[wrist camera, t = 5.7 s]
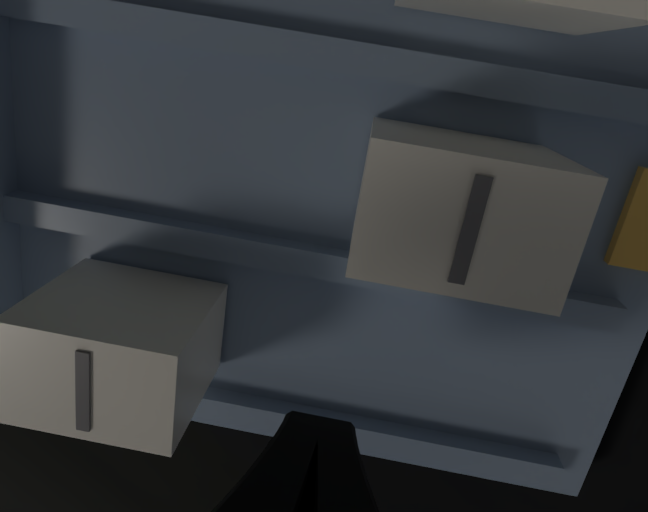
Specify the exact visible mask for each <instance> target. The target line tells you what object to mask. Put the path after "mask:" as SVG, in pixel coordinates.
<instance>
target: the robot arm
mask: <svg viewBox="0 0 648 512" xmlns="http://www.w3.org/2000/svg"><path fill="white" fill-rule="evenodd" d="M211 512H379V510H378V508H377V505H376V502H375V499H374V496H373V494H372V491H371V488H370V485H369V482H368V479H367V476H366V473H365V470H364V466H363V463H362V459H361V455H360V451H359V447H358V443H357V437H356V430H355V427H354V426H353V424H352V423H351V422H348V421H343V420H338V419H333V418H328V417H323V416H318V415H313V414H307V413H302V412H297V411H291V412H289V413H287V414H286V415H285V417H284V420H283V422H282V423H281V425H280V427H279V429H278V430H277V432H276V433H275V435H274V436H273V438H272V439H271V441H270V442H269V444H268V445H267V446H266V448H265V449H264V451H263V452H262V453H261V455H260V456H259V457H258V458H257V460H256V461H255V462H254V463H253V465H252V466H251V467H250V469H249V470H248V471H247V472H246V474H245V475H244V476H243V477H242V478H241V480H240V481H239V482H238V483H237V484H236V485H235V486H234V487H233V489H232V490H231V491H230V492H229V493H228V494H227V495H226V496H225V497H224V498H223V500H222V501H221V502H220V503H219V504H218V505H217V506H216V507H215V508H214V509H213V510H212V511H211Z"/></svg>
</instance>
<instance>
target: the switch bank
mask: <svg viewBox="0 0 648 512" xmlns="http://www.w3.org/2000/svg"><path fill="white" fill-rule="evenodd" d="M394 4H395V0H0V314H1V313H3V312H4V311H6V310H8V309H9V308H11V307H12V306H14V305H15V304H17V303H18V302H20V301H21V300H23V299H24V298H26V297H27V296H29V295H30V294H32V293H33V292H35V291H36V290H38V289H39V288H41V287H42V286H44V285H45V284H47V283H48V282H50V281H52V280H53V279H55V278H56V277H58V276H59V275H61V274H62V273H64V272H65V271H67V270H68V269H70V268H71V267H73V266H74V265H76V264H77V263H79V262H80V261H82V260H83V259H85V258H89V259H94V260H100V261H105V262H111V263H116V264H121V265H127V266H132V267H137V268H143V269H148V270H154V271H159V272H164V273H170V274H175V275H180V276H186V277H191V278H196V279H202V280H207V281H213V282H218V283H223V284H228V288H227V298H226V308H225V318H224V328H223V338H222V348H221V358H220V366H219V368H218V370H217V372H216V374H215V375H214V377H213V379H212V381H211V383H210V385H209V387H208V389H207V391H206V392H205V394H204V396H203V398H202V400H201V402H200V404H199V406H198V408H197V409H196V411H195V413H194V415H193V417H192V419H191V421H196V422H201V423H206V424H211V425H216V426H221V427H226V428H232V429H237V430H242V431H247V432H252V433H257V434H262V435H267V436H272V437H273V436H274V435H275V433H276V432H277V430H278V429H279V427H280V425H281V423H282V422H283V420H284V417H285V415H286V414H287V413H289V412H291V411H297V412H302V413H307V414H313V415H318V416H323V417H328V418H333V419H338V420H343V421H348V422H351V423H352V424H353V426H354V427H355V430H356V437H357V443H358V447H359V451H360V454H364V455H369V456H374V457H379V458H384V459H389V460H394V461H399V462H404V463H409V464H414V465H419V466H424V467H430V468H435V469H440V470H445V471H450V472H455V473H460V474H465V475H470V476H475V477H480V478H485V479H490V480H495V481H501V482H506V483H511V484H516V485H521V486H526V487H531V488H536V489H541V490H546V491H551V492H556V493H561V494H567V495H572V496H578V493H579V491H580V489H581V486H582V484H583V481H584V479H585V477H586V474H587V472H588V470H589V467H590V465H591V463H592V460H593V458H594V456H595V453H596V451H597V448H598V446H599V444H600V441H601V439H602V437H603V434H604V432H605V430H606V427H607V425H608V423H609V420H610V418H611V415H612V413H613V411H614V408H615V406H616V404H617V401H618V399H619V397H620V394H621V392H622V389H623V387H624V385H625V382H626V380H627V378H628V375H629V373H630V371H631V368H632V366H633V364H634V361H635V359H636V356H637V354H638V352H639V349H640V347H641V345H642V342H643V340H644V338H645V335H646V333H647V330H648V25H645V26H638V27H631V28H624V29H618V30H611V31H604V32H597V33H590V34H583V35H570V34H563V33H557V32H551V31H545V30H539V29H533V28H527V27H521V26H514V25H508V24H502V23H496V22H490V21H484V20H478V19H472V18H465V17H459V16H453V15H447V14H441V13H435V12H429V11H423V10H416V9H410V8H404V7H398V6H394ZM373 117H379V118H385V119H391V120H397V121H402V122H408V123H414V124H420V125H426V126H432V127H437V128H443V129H449V130H455V131H461V132H467V133H472V134H478V135H484V136H490V137H496V138H501V139H507V140H513V141H519V142H525V143H531V144H536V145H542V146H545V147H547V148H549V149H551V150H553V151H555V152H557V153H559V154H560V155H562V156H564V157H566V158H568V159H570V160H572V161H574V162H576V163H578V164H580V165H582V166H584V167H586V168H588V169H590V170H592V171H594V172H596V173H598V174H600V175H602V176H604V177H606V178H608V182H607V185H606V188H605V190H604V193H603V196H602V199H601V202H600V204H599V207H598V210H597V213H596V216H595V219H594V221H593V224H592V227H591V230H590V233H589V236H588V238H587V241H586V244H585V247H584V250H583V253H582V255H581V258H580V261H579V264H578V267H577V270H576V272H575V275H574V278H573V281H572V284H571V287H570V289H569V292H568V295H567V298H566V301H565V304H564V306H563V309H562V312H561V315H560V317H558V316H553V315H547V314H542V313H536V312H531V311H526V310H520V309H515V308H509V307H504V306H498V305H493V304H488V303H482V302H477V301H471V300H466V299H460V298H455V297H450V296H444V295H439V294H433V293H428V292H422V291H417V290H411V289H406V288H401V287H395V286H390V285H384V284H379V283H373V282H368V281H363V280H357V279H352V278H346V277H345V275H346V269H347V263H348V256H349V250H350V244H351V238H352V232H353V226H354V220H355V214H356V209H357V204H358V198H359V193H360V187H361V182H362V177H363V171H364V166H365V160H366V155H367V150H368V144H369V139H370V133H371V128H372V123H373Z"/></svg>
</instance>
